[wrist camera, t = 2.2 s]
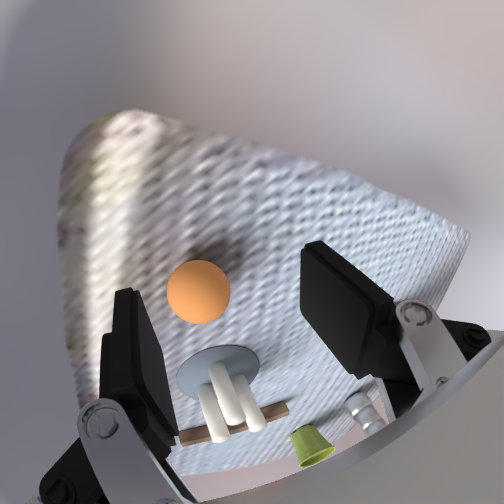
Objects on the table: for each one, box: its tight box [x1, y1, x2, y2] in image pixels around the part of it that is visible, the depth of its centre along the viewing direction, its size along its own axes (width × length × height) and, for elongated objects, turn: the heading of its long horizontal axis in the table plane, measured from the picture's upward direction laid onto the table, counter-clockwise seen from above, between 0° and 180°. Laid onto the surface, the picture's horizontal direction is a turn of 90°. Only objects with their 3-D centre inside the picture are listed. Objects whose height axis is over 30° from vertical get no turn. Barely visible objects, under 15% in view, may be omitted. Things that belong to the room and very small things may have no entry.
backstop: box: [179, 401, 289, 447], centre depth 43 cm, size 20×2×2 cm, turn 94°
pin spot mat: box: [176, 345, 259, 400], centre depth 37 cm, size 12×12×1 cm
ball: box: [167, 260, 230, 324], centre depth 26 cm, size 6×6×6 cm
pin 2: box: [230, 374, 267, 432], centre depth 35 cm, size 2×2×9 cm
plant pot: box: [291, 425, 336, 468], centre depth 53 cm, size 9×9×9 cm
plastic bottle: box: [344, 392, 388, 438], centre depth 49 cm, size 6×7×20 cm
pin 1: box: [197, 384, 231, 443], centre depth 34 cm, size 2×2×9 cm
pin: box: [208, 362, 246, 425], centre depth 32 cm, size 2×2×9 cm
